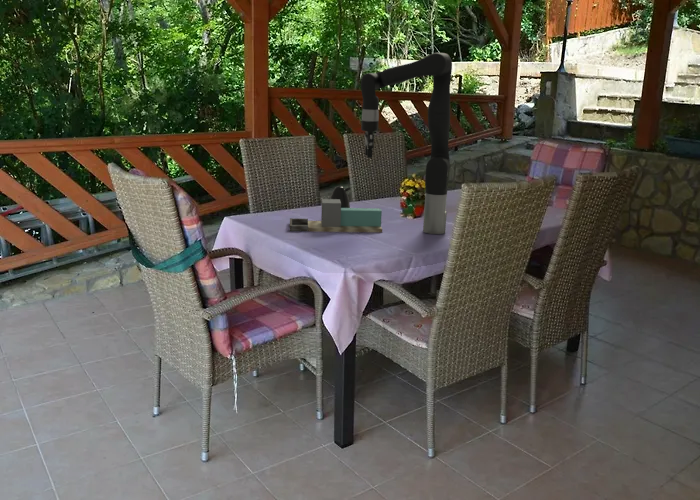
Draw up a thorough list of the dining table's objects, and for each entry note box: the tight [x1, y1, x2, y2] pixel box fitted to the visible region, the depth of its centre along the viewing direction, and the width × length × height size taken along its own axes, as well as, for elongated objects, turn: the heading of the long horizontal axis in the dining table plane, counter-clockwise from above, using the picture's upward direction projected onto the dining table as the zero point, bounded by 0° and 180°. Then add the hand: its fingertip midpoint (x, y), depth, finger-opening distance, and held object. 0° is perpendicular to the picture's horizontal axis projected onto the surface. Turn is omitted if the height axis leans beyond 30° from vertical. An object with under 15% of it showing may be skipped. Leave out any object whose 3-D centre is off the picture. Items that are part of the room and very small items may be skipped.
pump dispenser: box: [329, 185, 351, 208], centre depth 296 cm, size 10×10×15 cm
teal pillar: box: [341, 207, 383, 227], centre depth 278 cm, size 18×5×7 cm, turn 95°
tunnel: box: [320, 198, 341, 227], centre depth 276 cm, size 8×8×10 cm
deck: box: [289, 217, 383, 233], centre depth 278 cm, size 40×14×2 cm, turn 95°
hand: (368, 156), depth 284 cm, fingers open, 8 cm apart
